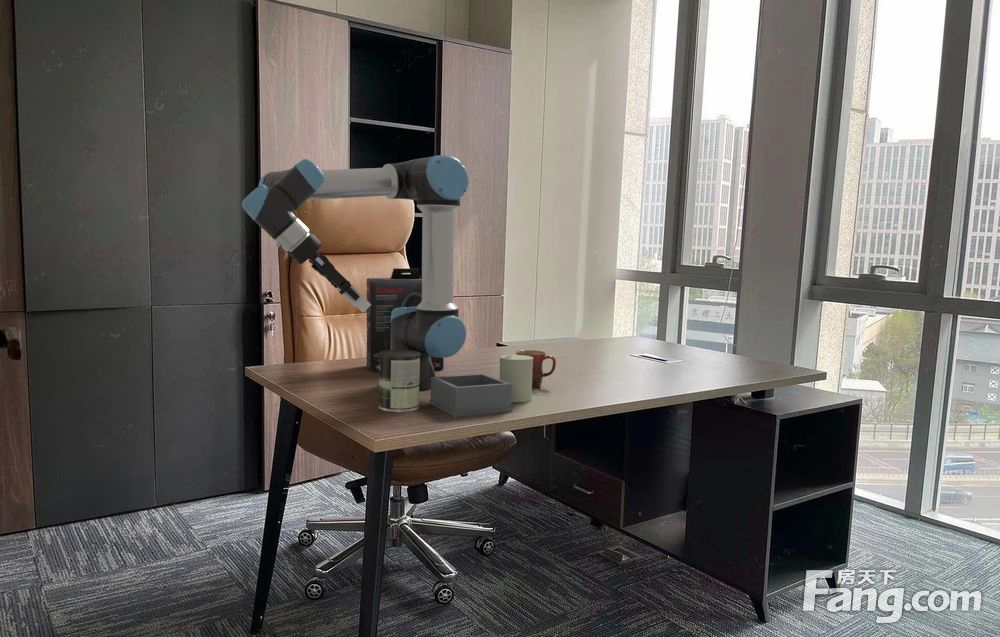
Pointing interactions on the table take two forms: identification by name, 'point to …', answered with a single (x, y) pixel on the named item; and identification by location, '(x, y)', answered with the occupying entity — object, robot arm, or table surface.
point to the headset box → (390, 310)
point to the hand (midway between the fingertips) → (362, 306)
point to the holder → (470, 394)
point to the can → (517, 376)
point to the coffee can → (399, 380)
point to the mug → (538, 365)
